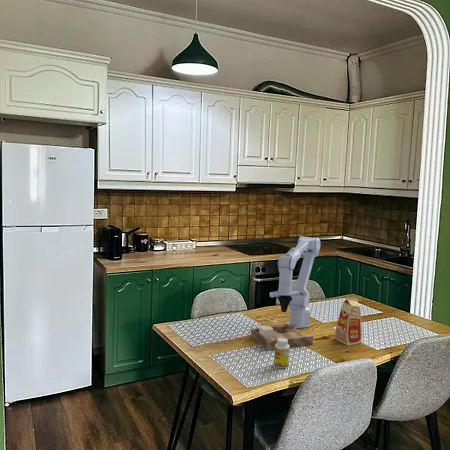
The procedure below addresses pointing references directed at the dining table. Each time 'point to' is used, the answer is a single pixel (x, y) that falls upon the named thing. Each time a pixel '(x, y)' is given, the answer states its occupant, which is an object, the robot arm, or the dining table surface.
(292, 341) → the tray
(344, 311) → the milk carton
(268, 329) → the block
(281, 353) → the supplement bottle
